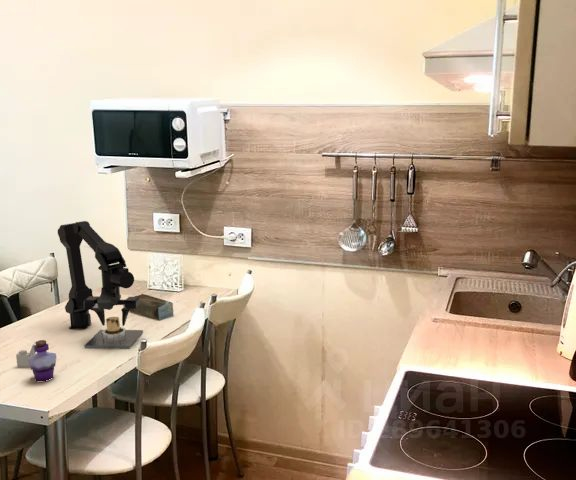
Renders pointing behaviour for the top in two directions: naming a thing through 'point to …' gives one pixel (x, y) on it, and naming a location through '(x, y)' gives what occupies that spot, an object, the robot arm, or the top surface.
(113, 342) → the ring block
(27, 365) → the grey notched block
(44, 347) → the potion bottle
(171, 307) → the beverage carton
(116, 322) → the tan cylinder
